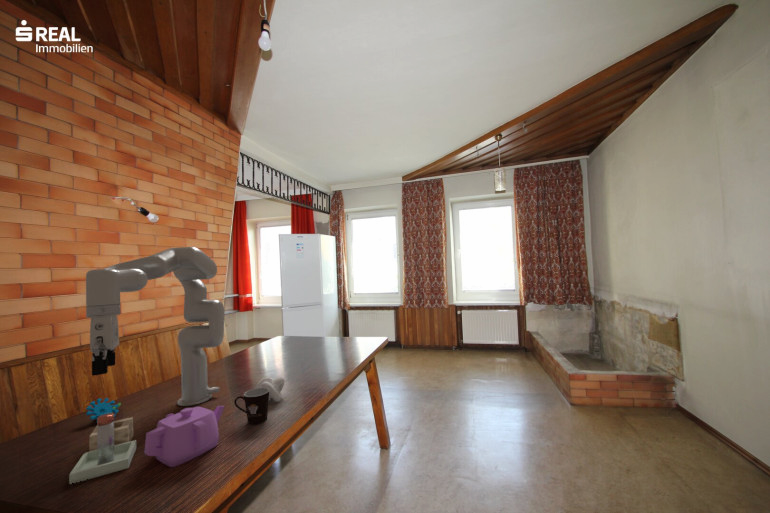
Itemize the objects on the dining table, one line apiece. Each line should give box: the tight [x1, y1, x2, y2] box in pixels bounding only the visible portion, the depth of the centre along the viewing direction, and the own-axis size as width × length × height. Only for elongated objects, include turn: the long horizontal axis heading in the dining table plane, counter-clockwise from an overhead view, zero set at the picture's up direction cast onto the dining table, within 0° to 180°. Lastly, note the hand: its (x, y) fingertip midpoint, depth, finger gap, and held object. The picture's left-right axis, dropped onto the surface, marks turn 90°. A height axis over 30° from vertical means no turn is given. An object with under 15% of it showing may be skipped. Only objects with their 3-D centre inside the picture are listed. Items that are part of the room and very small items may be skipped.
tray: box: [68, 439, 137, 485], centre depth 89 cm, size 12×12×2 cm
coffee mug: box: [234, 387, 270, 426], centre depth 113 cm, size 12×9×10 cm
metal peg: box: [96, 412, 115, 465], centre depth 90 cm, size 4×4×13 cm
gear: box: [85, 397, 122, 422], centre depth 120 cm, size 11×6×10 cm
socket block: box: [88, 416, 134, 452], centre depth 100 cm, size 9×9×6 cm
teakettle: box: [143, 405, 225, 468], centre depth 95 cm, size 17×17×12 cm
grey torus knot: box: [254, 376, 286, 403], centre depth 130 cm, size 11×12×9 cm
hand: (104, 370), depth 91 cm, fingers open, 9 cm apart
